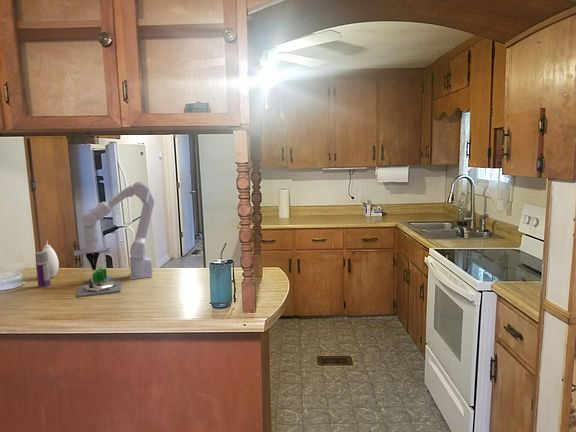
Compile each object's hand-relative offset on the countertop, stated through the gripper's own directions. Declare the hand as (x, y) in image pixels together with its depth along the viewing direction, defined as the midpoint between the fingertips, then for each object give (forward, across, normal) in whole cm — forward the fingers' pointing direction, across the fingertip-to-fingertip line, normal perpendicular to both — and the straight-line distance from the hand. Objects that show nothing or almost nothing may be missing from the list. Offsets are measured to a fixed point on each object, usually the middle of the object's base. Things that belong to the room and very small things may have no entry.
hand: (94, 269), depth 183 cm
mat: (+5, -3, 0) cm, 6 cm away
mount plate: (+5, -3, +14) cm, 16 cm away
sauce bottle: (+6, +20, -16) cm, 27 cm away
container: (+6, +20, -2) cm, 21 cm away
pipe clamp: (+6, -2, -1) cm, 6 cm away
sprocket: (+5, -3, +14) cm, 16 cm away
